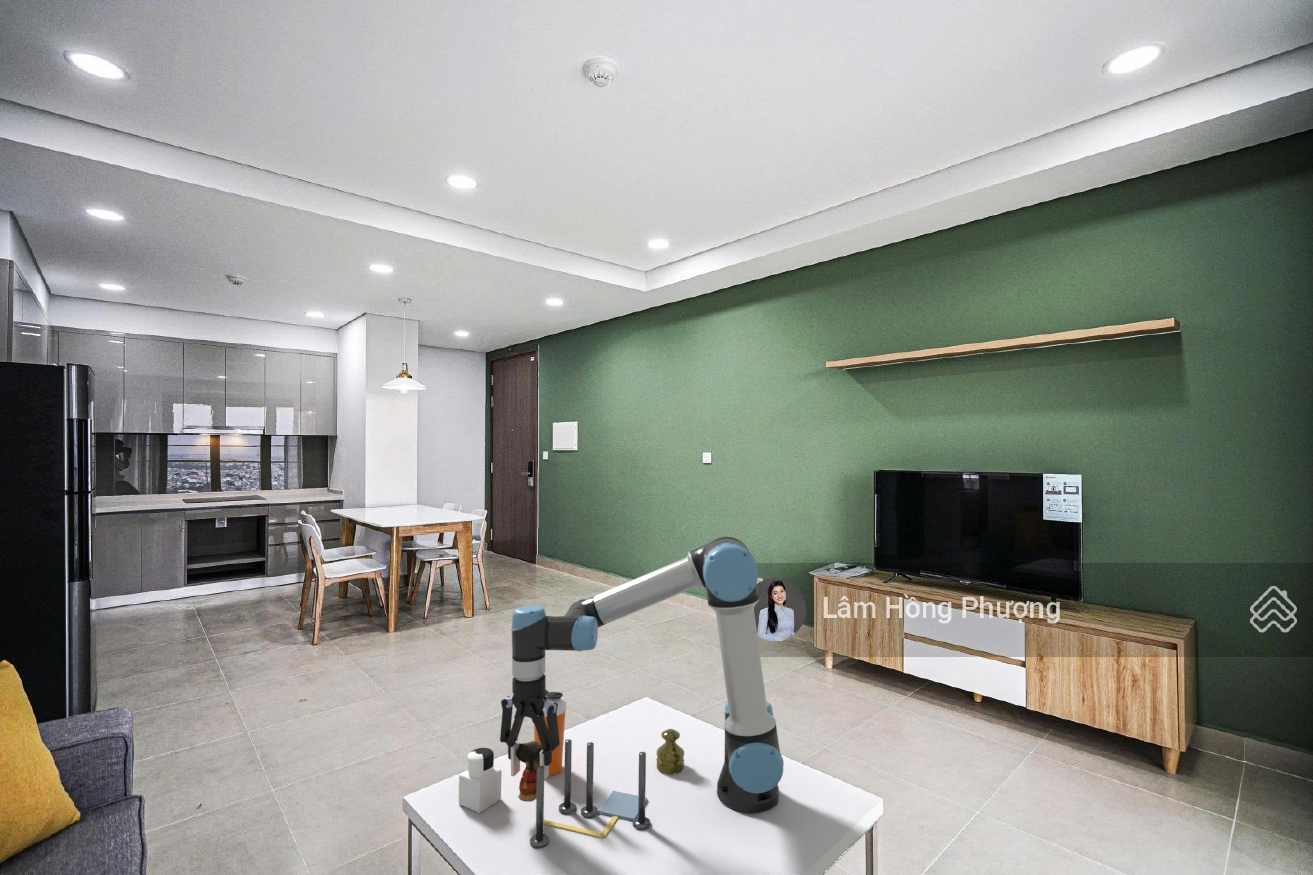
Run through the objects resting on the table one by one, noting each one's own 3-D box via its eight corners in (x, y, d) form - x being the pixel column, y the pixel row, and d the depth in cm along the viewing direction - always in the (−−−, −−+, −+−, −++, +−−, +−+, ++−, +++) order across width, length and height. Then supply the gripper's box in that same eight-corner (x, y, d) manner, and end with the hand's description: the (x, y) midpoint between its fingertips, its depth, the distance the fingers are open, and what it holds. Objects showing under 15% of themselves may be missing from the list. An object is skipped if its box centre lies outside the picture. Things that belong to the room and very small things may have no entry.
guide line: (618, 817, 143) (618, 816, 143) (604, 838, 135) (604, 837, 135) (558, 804, 148) (558, 802, 148) (540, 823, 140) (540, 822, 140)
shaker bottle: (558, 780, 159) (559, 701, 159) (525, 775, 161) (527, 698, 161) (570, 762, 167) (571, 688, 168) (539, 759, 169) (540, 685, 170)
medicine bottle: (480, 790, 154) (481, 741, 154) (501, 799, 150) (502, 749, 150) (458, 804, 147) (458, 753, 148) (479, 814, 144) (480, 762, 144)
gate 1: (578, 806, 147) (579, 738, 148) (543, 850, 131) (544, 773, 131) (563, 802, 149) (564, 735, 149) (526, 845, 133) (527, 770, 133)
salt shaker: (677, 777, 161) (677, 738, 161) (651, 770, 164) (652, 732, 164) (688, 764, 167) (688, 727, 167) (663, 758, 170) (663, 721, 171)
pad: (647, 800, 150) (647, 797, 150) (634, 821, 142) (634, 818, 142) (613, 793, 153) (613, 790, 153) (598, 813, 145) (598, 810, 145)
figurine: (517, 805, 139) (517, 751, 139) (515, 791, 144) (515, 739, 144) (545, 800, 140) (545, 747, 141) (542, 787, 146) (542, 736, 146)
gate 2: (652, 821, 142) (653, 751, 142) (646, 831, 138) (647, 759, 138) (585, 806, 147) (586, 738, 148) (577, 815, 143) (578, 746, 144)
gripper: (575, 674, 143) (576, 774, 143) (501, 665, 149) (501, 761, 149) (559, 686, 136) (560, 791, 136) (482, 676, 142) (483, 777, 142)
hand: (529, 775), depth 142 cm, fingers closed on figurine, 7 cm apart
